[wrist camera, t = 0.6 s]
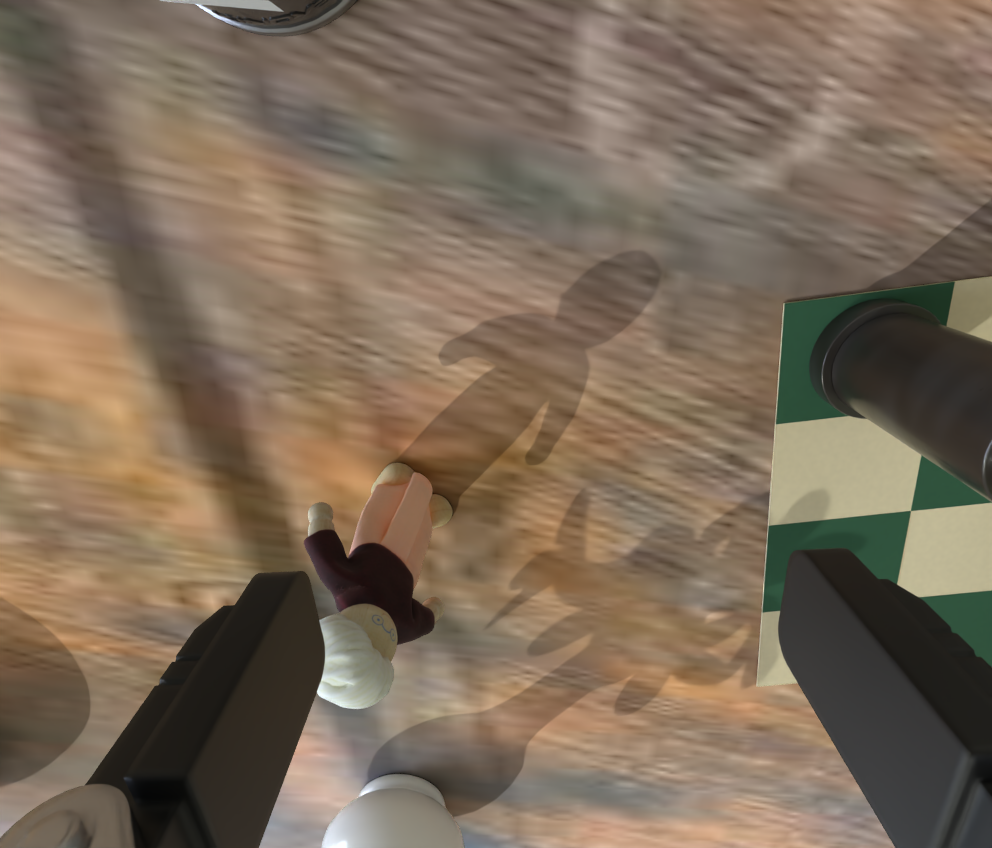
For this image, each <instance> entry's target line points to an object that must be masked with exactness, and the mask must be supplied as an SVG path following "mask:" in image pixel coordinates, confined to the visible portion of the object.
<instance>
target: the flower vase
mask: <svg viewBox="0 0 992 848" xmlns="http://www.w3.org/2000/svg"><path fill="white" fill-rule="evenodd" d="M322 848H465V845H464V841H463V837H462V834H461V831H460V828H459V826H458V824H457V822H456V821H455V820H454V818H453V817H452V815H451V814H450V813H449V811H448V810H447V809H446V808H445V802H444V799H443V796H442V794H441V793H440V791H439V790H438V789H437V788H436V787H435V786H434V785H432V784H431V783H430V782H428V781H426V780H424V779H422V778H420V777H416V776H412V775H406V774H391V775H385V776H382V777H378V778H376V779H374V780H372V781H371V782H369V783H368V784H367V785H366V786H365V787H364V788H363V789H362V790H361V792H360V794H359V796H358V798H356V799H354V800H352V801H351V802H350V803H348V804H347V805H346V806H345V807H344V808H343V809H342V810H341V811H340V812H339V813H338V814H337V815H336V816H335V817H334V818H333V820H332V821H331V823H330V824H329V826H328V829H327V831H326V833H325V836H324V839H323V842H322Z"/></svg>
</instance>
